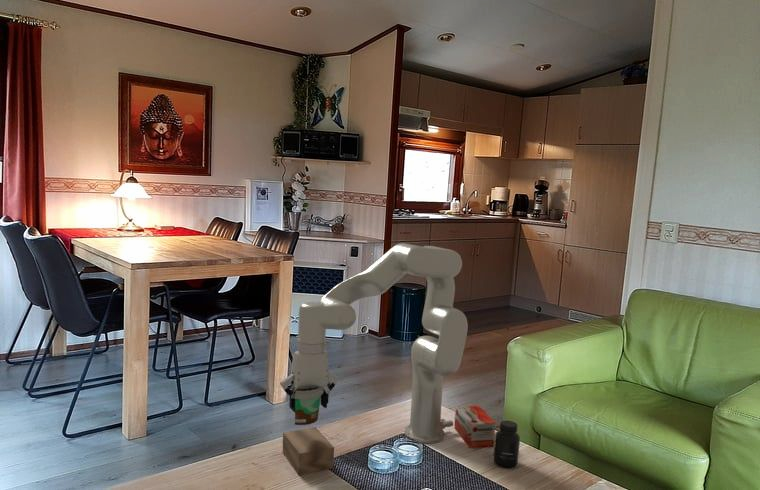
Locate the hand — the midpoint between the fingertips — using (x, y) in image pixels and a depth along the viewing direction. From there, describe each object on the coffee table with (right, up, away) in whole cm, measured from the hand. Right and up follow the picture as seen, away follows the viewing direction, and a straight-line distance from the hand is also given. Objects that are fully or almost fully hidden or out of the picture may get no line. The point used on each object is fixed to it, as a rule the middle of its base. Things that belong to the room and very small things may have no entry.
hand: (308, 408), depth 159 cm
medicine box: (+50, -16, +22) cm, 56 cm away
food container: (0, -4, +1) cm, 4 cm away
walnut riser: (-1, -15, +2) cm, 15 cm away
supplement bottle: (+56, -18, +5) cm, 59 cm away
